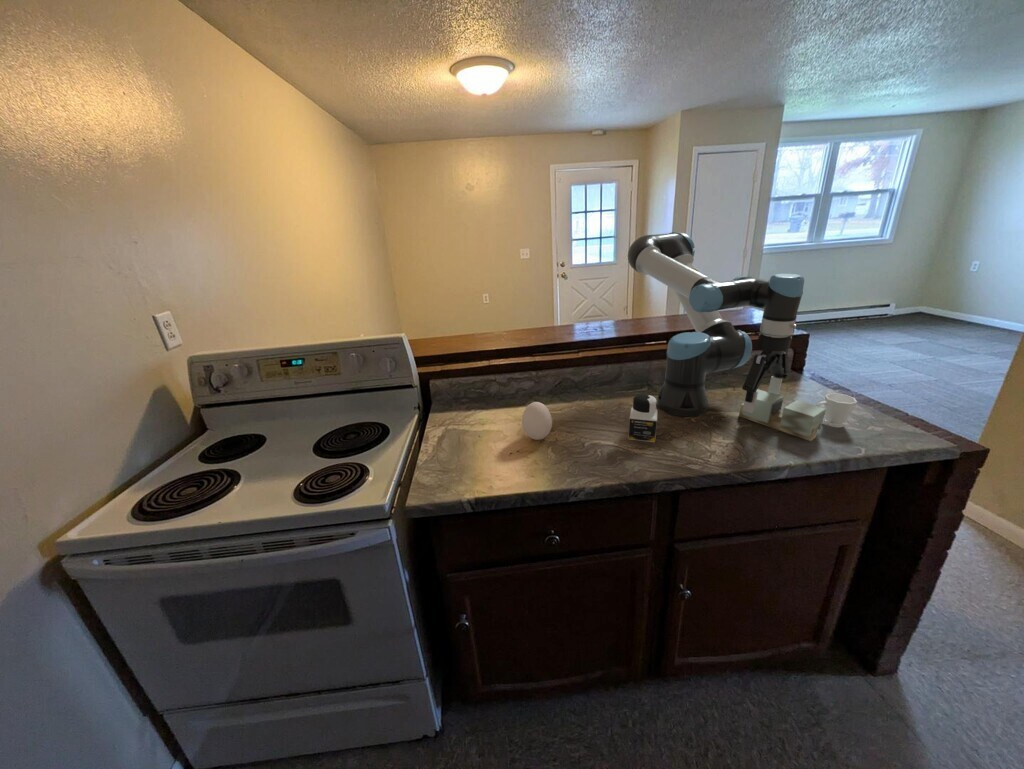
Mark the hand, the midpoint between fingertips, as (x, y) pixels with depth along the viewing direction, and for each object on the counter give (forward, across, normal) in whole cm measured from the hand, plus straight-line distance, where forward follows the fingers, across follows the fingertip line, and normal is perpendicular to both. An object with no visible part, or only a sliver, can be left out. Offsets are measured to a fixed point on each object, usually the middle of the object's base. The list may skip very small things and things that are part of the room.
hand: (760, 404), depth 115 cm
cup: (+5, +12, -13) cm, 19 cm away
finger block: (+3, 0, -1) cm, 3 cm away
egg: (+6, -56, +34) cm, 66 cm away
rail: (+5, 0, -5) cm, 7 cm away
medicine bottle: (+5, -32, +16) cm, 36 cm away
